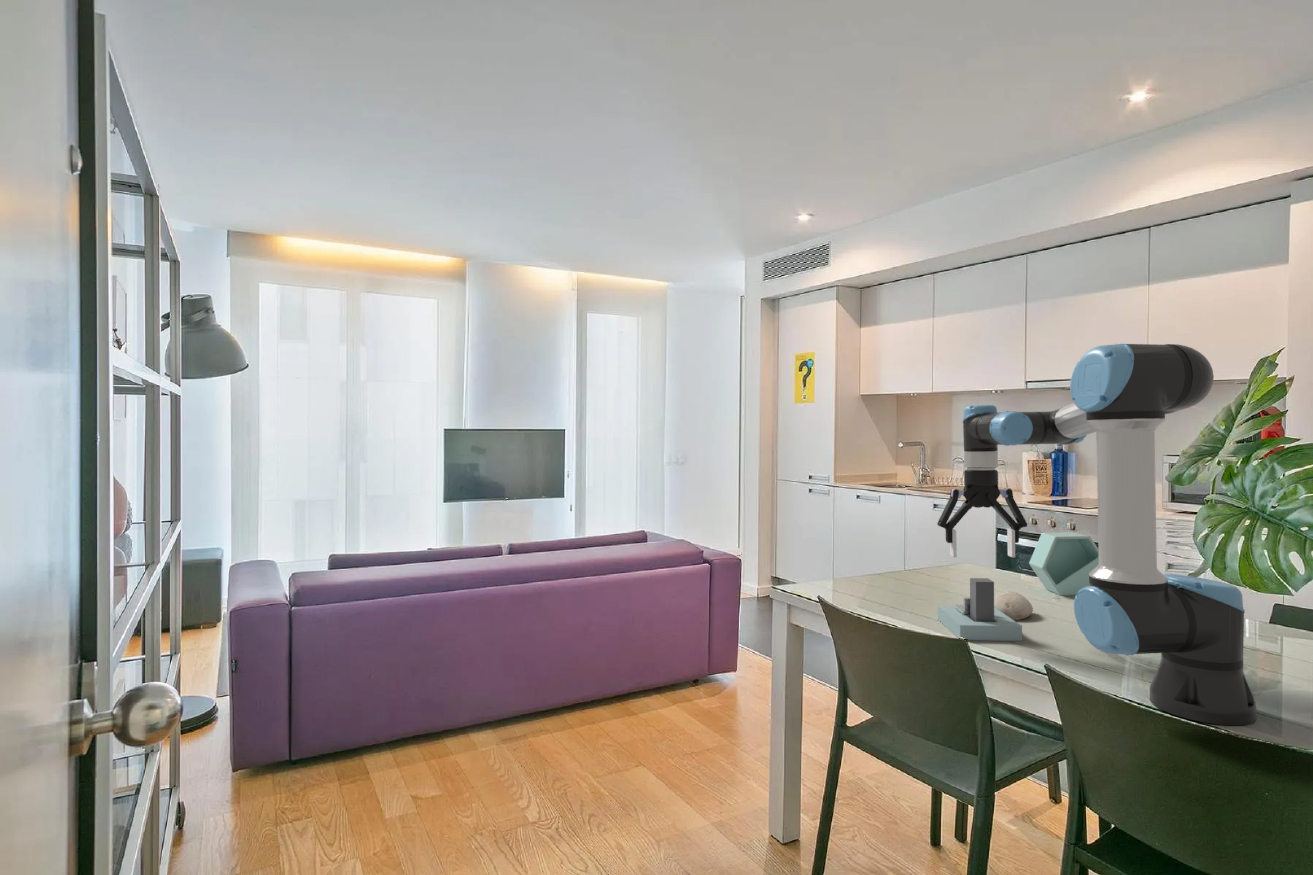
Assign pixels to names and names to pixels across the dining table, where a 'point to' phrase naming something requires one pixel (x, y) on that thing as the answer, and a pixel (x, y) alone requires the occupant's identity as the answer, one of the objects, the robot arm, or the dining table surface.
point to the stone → (1013, 605)
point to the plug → (981, 600)
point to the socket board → (980, 625)
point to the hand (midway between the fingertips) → (982, 556)
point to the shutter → (964, 606)
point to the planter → (1064, 561)
